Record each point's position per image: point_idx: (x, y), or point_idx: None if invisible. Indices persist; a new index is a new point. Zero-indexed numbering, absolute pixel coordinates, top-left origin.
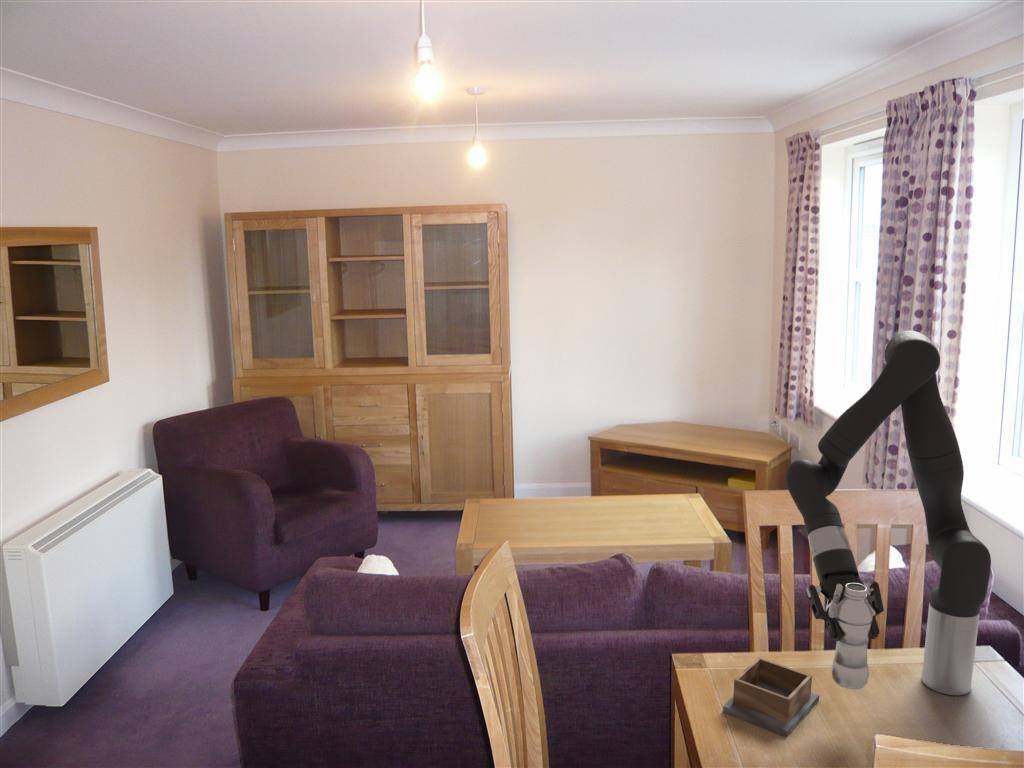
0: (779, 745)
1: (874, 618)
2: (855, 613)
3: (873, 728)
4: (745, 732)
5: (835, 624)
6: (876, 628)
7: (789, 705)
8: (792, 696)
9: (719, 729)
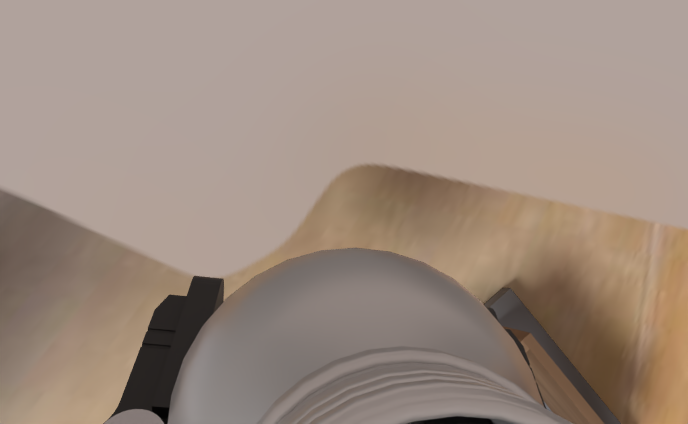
0: (536, 257)
1: (132, 403)
2: (447, 294)
3: (234, 280)
4: (601, 330)
5: None
6: (167, 328)
7: (515, 333)
8: None
9: (663, 356)
